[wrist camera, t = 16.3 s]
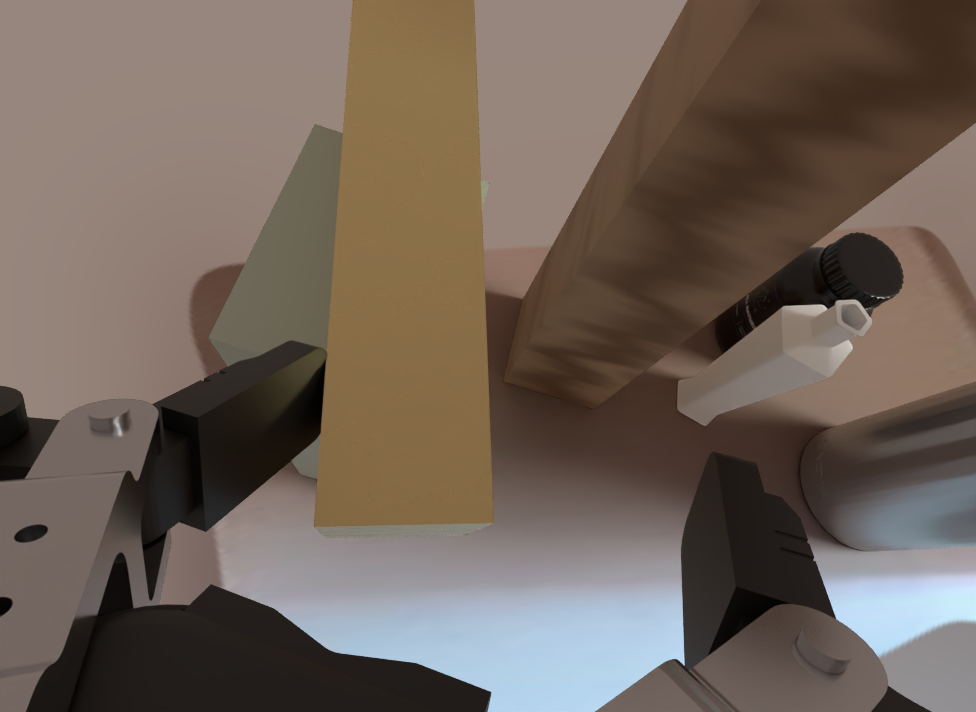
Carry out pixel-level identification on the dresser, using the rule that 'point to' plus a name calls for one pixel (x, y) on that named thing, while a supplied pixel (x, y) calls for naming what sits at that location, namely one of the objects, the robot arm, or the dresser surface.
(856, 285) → the supplement bottle
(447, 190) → the rail
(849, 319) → the perfume bottle
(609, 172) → the stand
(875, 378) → the dresser surface
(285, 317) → the block
